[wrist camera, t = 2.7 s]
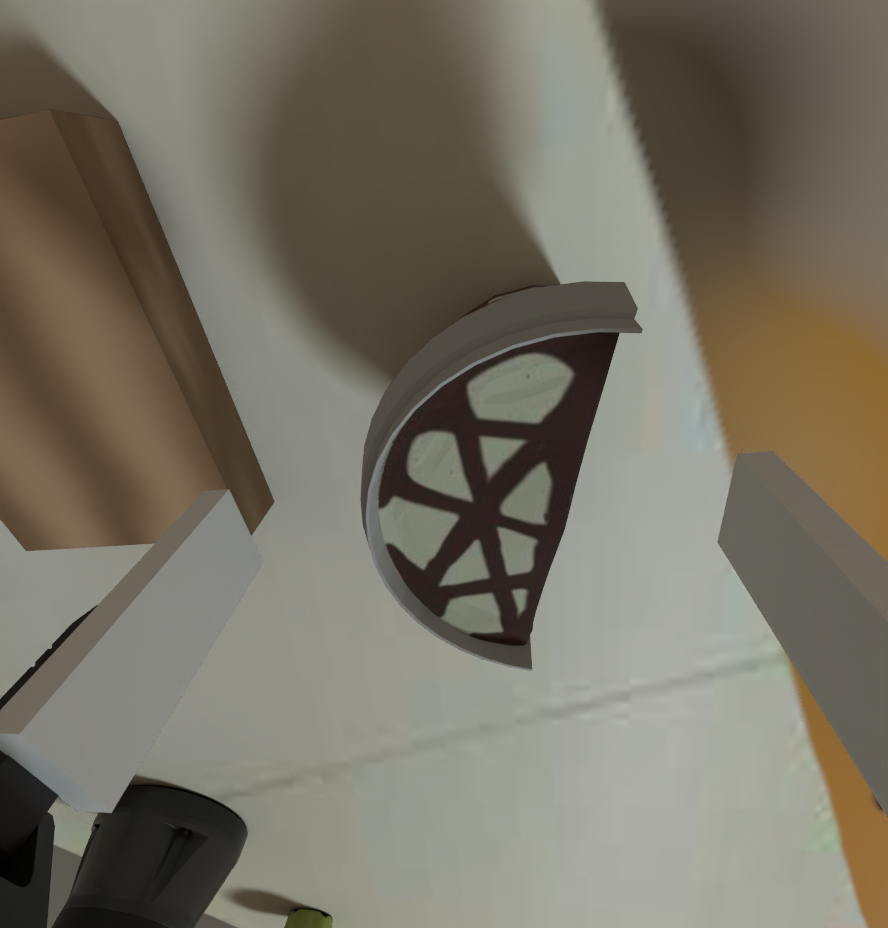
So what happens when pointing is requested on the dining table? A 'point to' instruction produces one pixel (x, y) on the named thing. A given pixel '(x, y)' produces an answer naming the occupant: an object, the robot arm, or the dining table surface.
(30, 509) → the stand
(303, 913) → the plant pot
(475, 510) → the food container
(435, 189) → the dining table surface
